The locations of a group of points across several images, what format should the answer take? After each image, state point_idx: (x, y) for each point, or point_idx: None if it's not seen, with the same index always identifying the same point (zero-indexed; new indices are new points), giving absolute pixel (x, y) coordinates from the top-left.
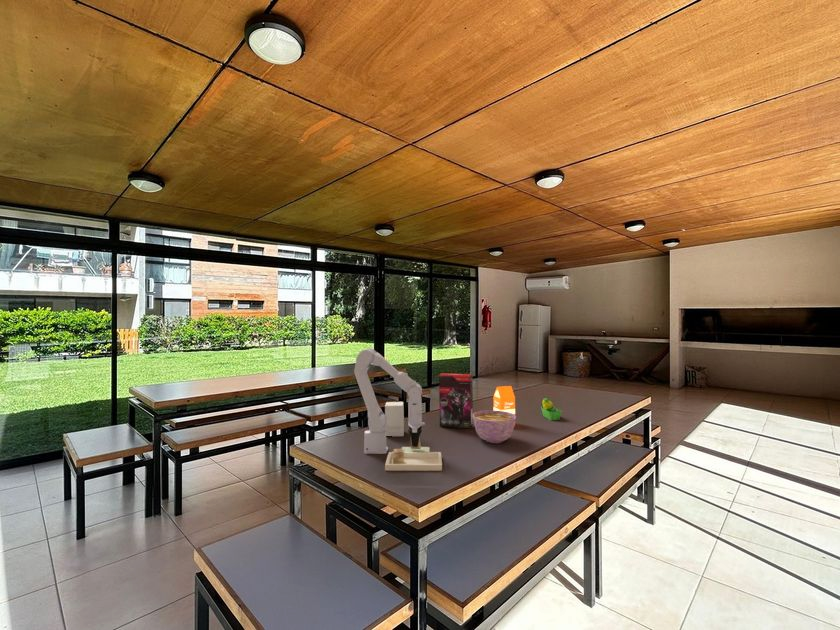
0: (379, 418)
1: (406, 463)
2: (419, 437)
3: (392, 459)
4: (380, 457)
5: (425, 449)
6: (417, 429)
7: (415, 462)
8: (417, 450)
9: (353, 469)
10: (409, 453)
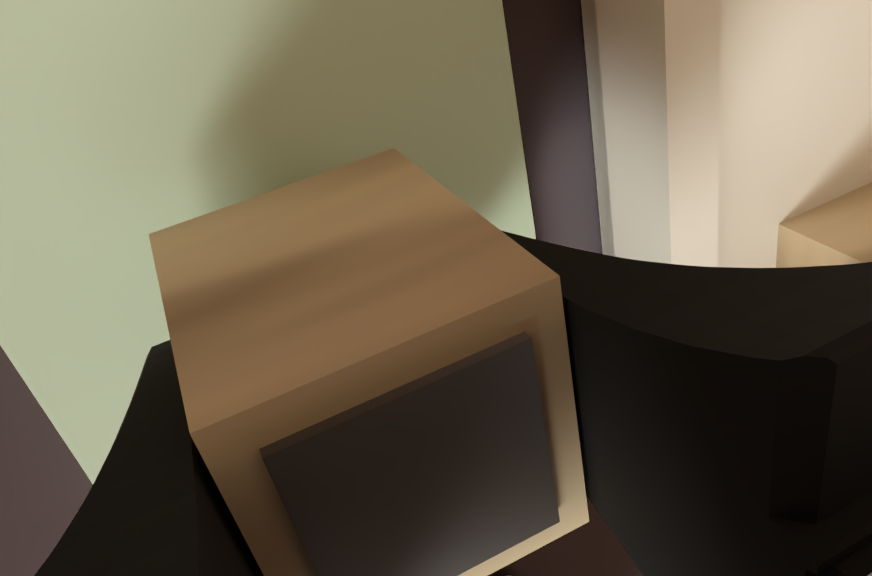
0: None
1: (845, 160)
2: (552, 291)
3: None
4: (605, 556)
5: (101, 66)
6: (834, 552)
7: (826, 37)
8: None
9: None
10: (713, 239)
